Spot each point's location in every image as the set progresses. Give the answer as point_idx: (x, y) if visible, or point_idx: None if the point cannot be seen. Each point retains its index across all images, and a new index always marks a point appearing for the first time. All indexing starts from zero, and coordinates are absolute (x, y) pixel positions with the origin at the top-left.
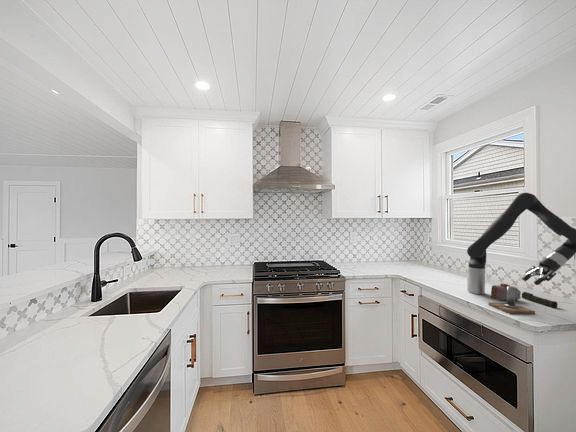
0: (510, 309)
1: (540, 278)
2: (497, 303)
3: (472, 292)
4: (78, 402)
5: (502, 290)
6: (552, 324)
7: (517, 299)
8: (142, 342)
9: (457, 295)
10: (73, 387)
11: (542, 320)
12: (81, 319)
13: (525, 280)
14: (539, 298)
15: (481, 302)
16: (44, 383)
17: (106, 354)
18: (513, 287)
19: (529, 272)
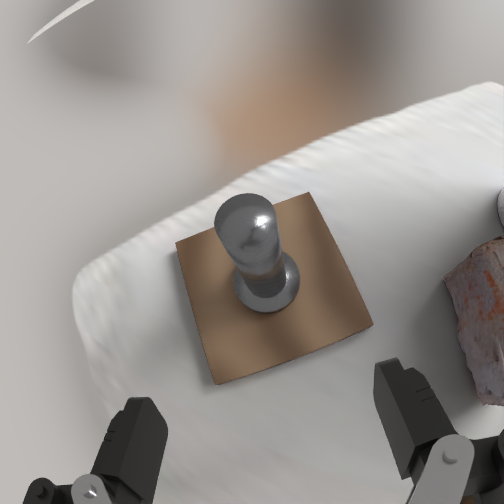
0: (206, 258)
1: (106, 479)
2: (308, 230)
3: (500, 192)
4: (40, 32)
5: (479, 284)
6: (92, 370)
7: (476, 388)
8: (87, 3)
9: (414, 123)
10: (50, 24)
11: (127, 360)
12: None
13: (377, 398)
14: (466, 496)
15: (345, 182)
16: (56, 18)
17: (76, 7)
18: (236, 237)
19: (440, 487)
